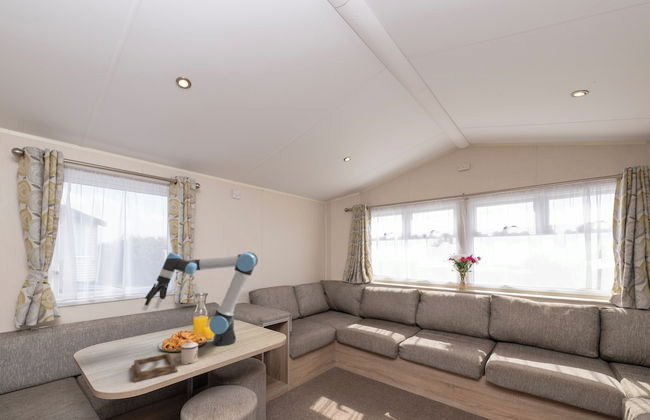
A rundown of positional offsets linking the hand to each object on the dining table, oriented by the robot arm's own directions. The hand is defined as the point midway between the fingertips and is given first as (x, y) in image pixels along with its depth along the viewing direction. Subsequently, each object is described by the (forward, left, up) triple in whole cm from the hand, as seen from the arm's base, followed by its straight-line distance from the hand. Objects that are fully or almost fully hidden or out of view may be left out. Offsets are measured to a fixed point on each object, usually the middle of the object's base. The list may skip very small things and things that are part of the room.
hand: (150, 309), depth 184 cm
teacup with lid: (-18, +27, -27) cm, 42 cm away
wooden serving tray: (0, +29, -27) cm, 39 cm away
